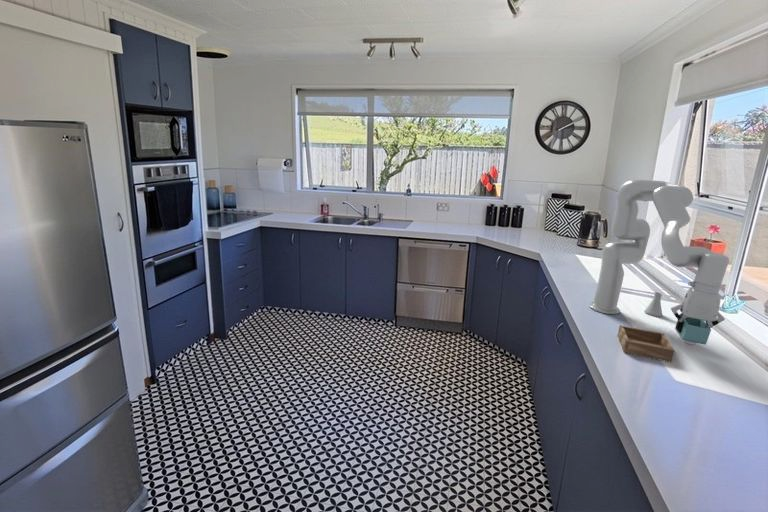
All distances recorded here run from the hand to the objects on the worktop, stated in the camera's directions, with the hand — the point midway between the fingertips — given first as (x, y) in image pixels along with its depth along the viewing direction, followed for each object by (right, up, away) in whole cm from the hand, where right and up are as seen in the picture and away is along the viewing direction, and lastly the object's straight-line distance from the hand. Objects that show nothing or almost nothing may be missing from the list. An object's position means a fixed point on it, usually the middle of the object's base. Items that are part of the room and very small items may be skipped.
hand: (691, 332), depth 151 cm
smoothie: (+8, -6, +12) cm, 16 cm away
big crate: (-15, -6, +5) cm, 17 cm away
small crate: (0, -1, 0) cm, 1 cm away
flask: (+12, +1, +40) cm, 41 cm away
